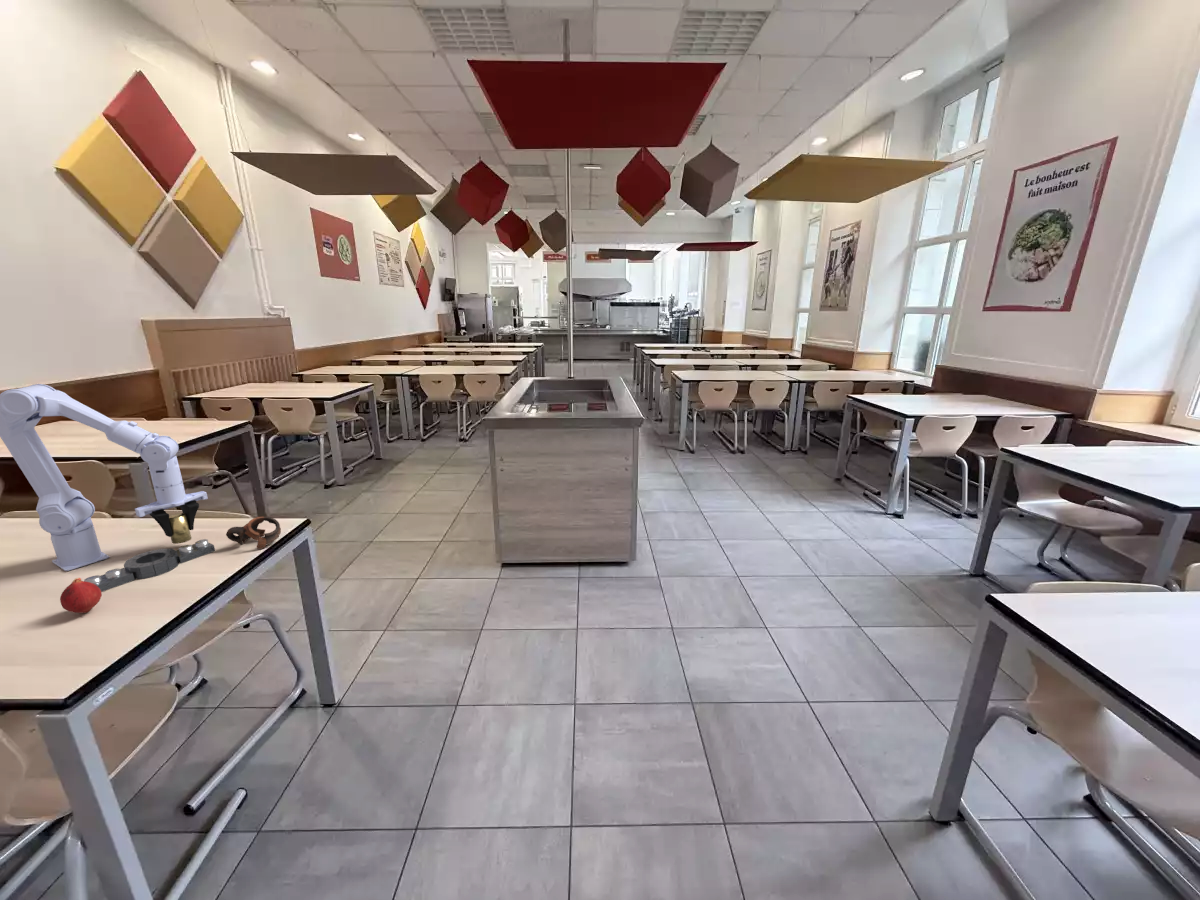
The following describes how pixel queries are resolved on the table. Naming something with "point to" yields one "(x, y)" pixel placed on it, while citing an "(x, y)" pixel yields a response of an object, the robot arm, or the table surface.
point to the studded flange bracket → (150, 564)
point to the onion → (80, 596)
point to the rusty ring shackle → (255, 532)
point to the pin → (179, 528)
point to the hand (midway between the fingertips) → (179, 532)
